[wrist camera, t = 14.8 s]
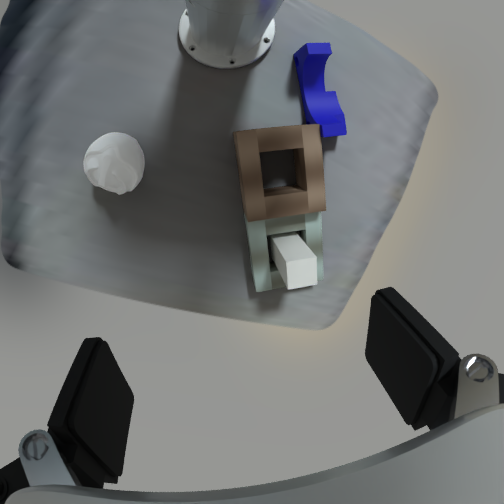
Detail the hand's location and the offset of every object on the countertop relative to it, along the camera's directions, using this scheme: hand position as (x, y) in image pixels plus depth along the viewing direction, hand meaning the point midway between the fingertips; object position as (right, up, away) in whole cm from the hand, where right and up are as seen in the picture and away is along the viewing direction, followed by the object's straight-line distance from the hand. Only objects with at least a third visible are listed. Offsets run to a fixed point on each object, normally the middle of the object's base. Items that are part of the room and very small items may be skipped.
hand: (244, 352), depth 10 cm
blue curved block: (+9, +25, +27) cm, 38 cm away
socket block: (+4, +10, +32) cm, 34 cm away
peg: (+5, +5, +34) cm, 35 cm away
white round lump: (-17, +16, +27) cm, 35 cm away
